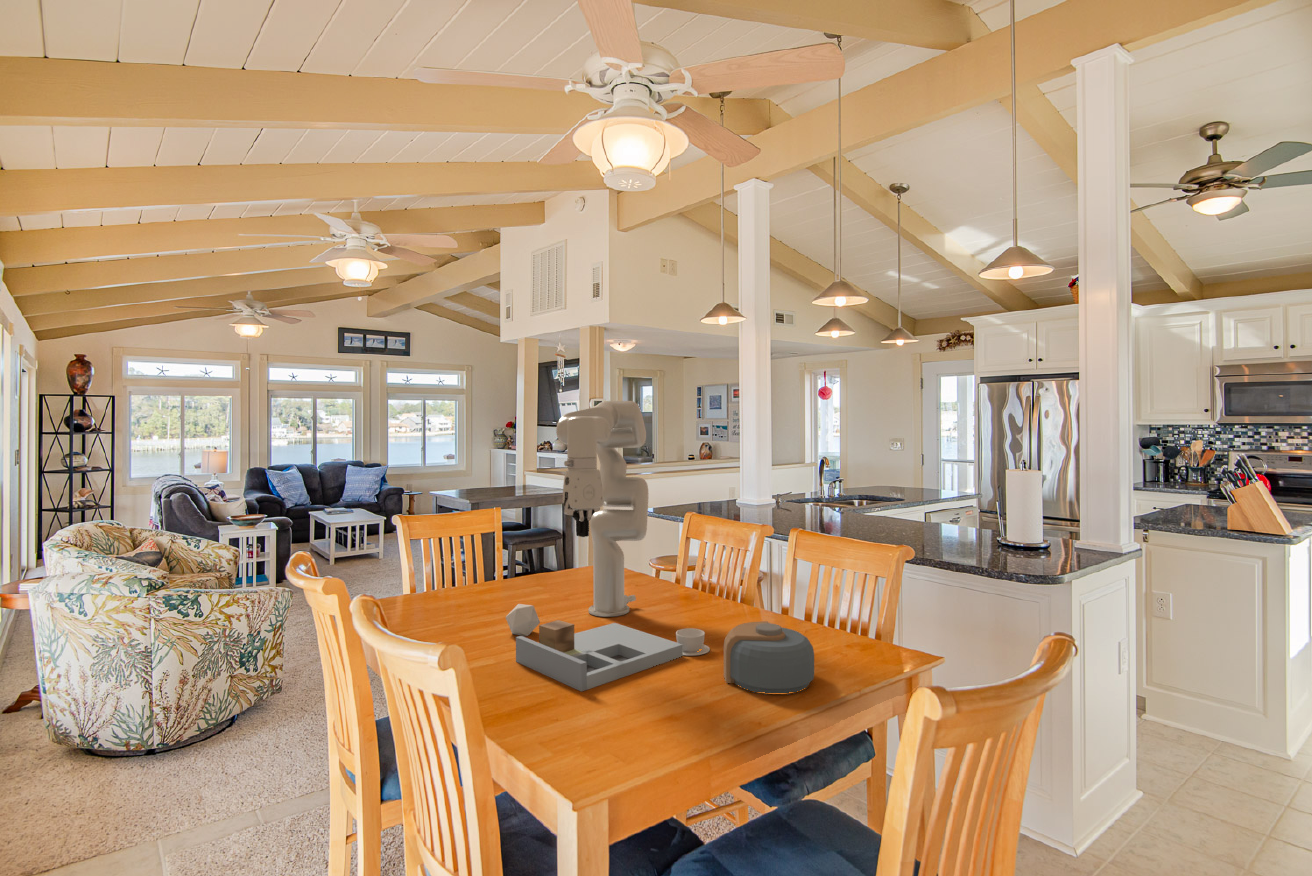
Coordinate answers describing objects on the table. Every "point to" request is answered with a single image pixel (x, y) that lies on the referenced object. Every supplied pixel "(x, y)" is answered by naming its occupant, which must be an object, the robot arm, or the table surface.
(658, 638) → the board
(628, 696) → the table surface
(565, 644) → the walnut block
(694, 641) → the teacup
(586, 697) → the table surface
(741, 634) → the grey knobbed dome
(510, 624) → the die
